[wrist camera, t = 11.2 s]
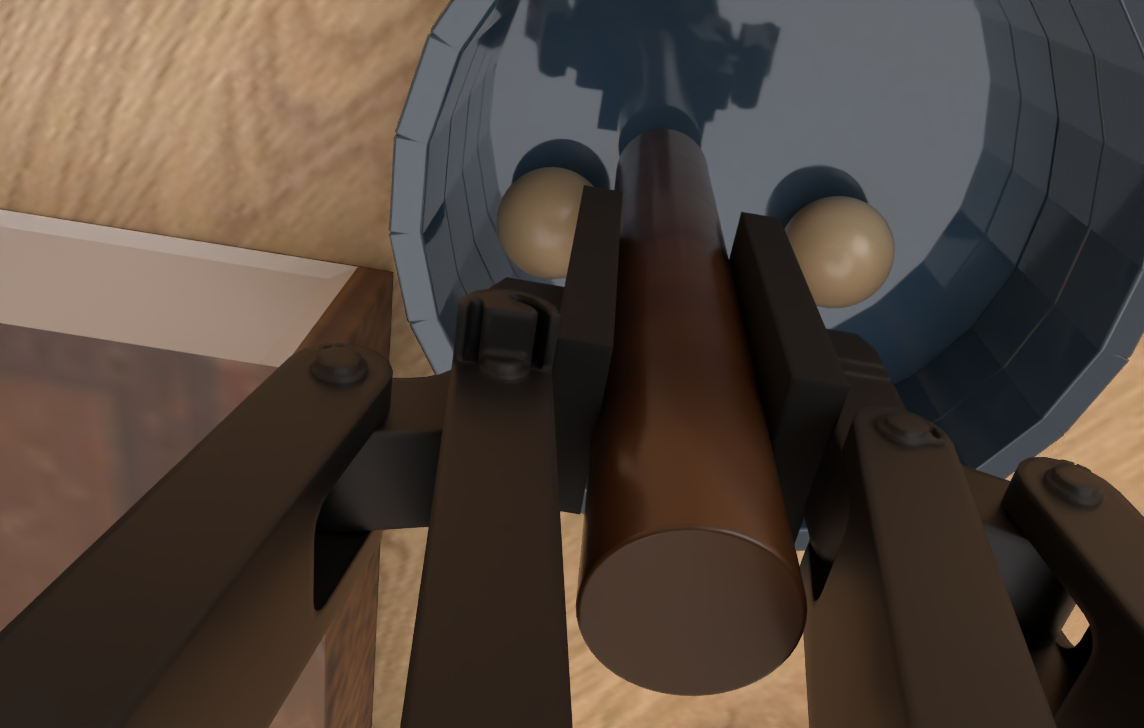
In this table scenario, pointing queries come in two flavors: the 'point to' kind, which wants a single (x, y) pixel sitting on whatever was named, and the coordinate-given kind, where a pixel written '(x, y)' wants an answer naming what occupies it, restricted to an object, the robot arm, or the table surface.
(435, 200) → the bowl
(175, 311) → the book
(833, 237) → the bead
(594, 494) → the stirring stick
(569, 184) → the bead
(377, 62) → the table surface
